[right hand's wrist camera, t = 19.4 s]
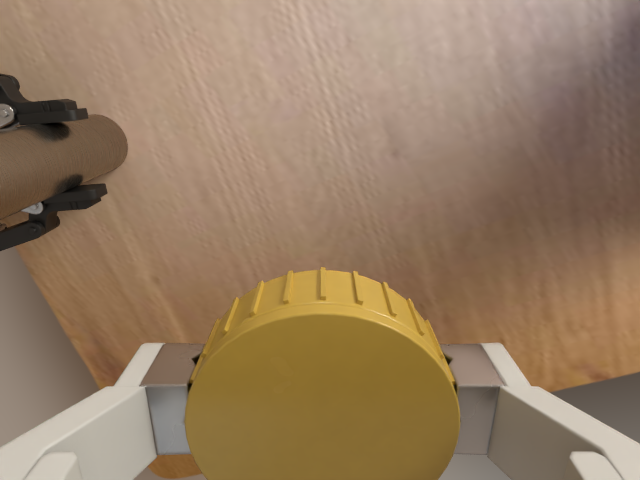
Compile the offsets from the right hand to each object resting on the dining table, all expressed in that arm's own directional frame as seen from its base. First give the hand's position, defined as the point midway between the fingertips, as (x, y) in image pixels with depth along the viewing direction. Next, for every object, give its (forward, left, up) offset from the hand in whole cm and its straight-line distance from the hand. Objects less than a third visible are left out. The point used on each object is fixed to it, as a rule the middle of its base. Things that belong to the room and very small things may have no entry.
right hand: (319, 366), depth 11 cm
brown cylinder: (+14, +12, -28) cm, 34 cm away
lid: (0, 0, +2) cm, 2 cm away
